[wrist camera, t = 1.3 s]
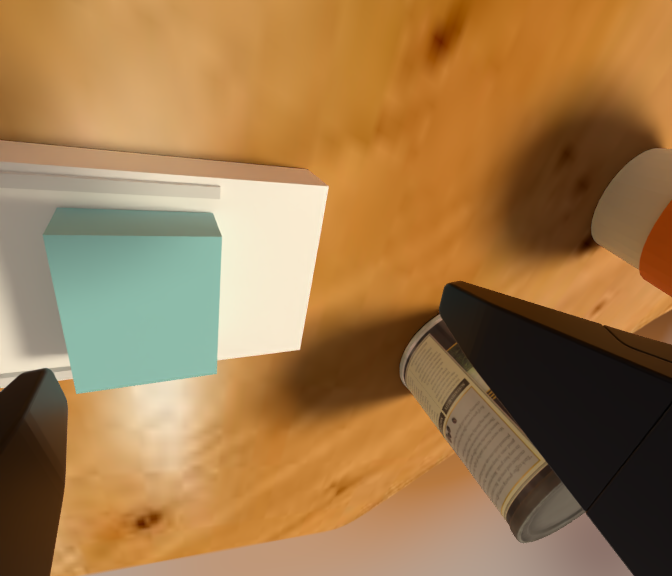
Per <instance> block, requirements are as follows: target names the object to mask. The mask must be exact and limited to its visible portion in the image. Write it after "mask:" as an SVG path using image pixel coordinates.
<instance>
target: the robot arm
mask: <svg viewBox="0 0 672 576" xmlns="http://www.w3.org/2000/svg"><path fill="white" fill-rule="evenodd" d="M439 313H440V316H441V318H442V320H443V321H444V323H445V324H446V326H447V328H448V329H449V331H450V332H451V334H452V336H453V337H454V339H455V340H456V342H457V344H458V345H459V347H460V348H461V350H462V352H463V353H464V355H465V356H466V358H467V359H468V361H469V362H470V363H471V365H472V366H473V367H474V369H475V370H476V371H477V373H478V374H479V375H480V377H481V378H482V379H483V380H484V382H485V383H486V384H487V386H488V387H489V388H490V390H491V391H492V392H493V393H494V395H495V396H496V397H497V399H498V400H499V401H500V402H501V404H502V405H503V406H504V408H505V409H506V410H507V412H508V413H509V414H510V415H511V417H512V418H513V419H514V421H515V422H516V423H517V425H518V426H519V427H520V428H521V430H522V431H523V432H524V434H525V435H526V436H527V437H528V439H529V440H530V441H531V443H532V444H533V445H534V447H535V448H536V449H537V450H538V452H539V453H540V454H541V456H542V457H543V458H544V460H545V461H546V462H547V463H548V465H549V466H550V467H551V469H552V470H553V471H554V472H555V474H556V475H557V476H558V478H559V479H560V480H561V482H562V483H563V484H564V485H565V487H566V488H567V489H568V491H569V492H570V493H571V495H572V496H573V497H574V498H575V500H576V501H577V502H578V504H579V505H580V506H581V507H582V509H583V510H584V511H586V514H587V516H588V517H589V518H590V519H591V521H592V522H593V524H594V525H595V526H596V527H597V528H598V530H599V531H600V532H601V534H602V535H603V536H604V538H605V539H606V540H607V542H608V543H609V544H610V546H611V547H612V548H613V549H614V551H615V552H616V553H617V554H618V556H619V557H620V558H621V560H622V561H623V562H624V564H625V565H626V566H627V568H628V569H629V570H630V571H631V573H632V574H633V575H634V576H672V345H671V344H667V343H664V342H660V341H656V340H653V339H649V338H645V337H642V336H639V335H635V334H632V333H629V332H625V331H622V330H619V329H615V328H612V327H609V326H606V325H604V326H602V325H601V324H599V323H596V322H592V321H589V320H586V319H583V318H580V317H576V316H573V315H570V314H567V313H563V312H560V311H557V310H554V309H550V308H547V307H544V306H541V305H537V304H534V303H531V302H528V301H524V300H521V299H518V298H515V297H511V296H508V295H505V294H502V293H498V292H495V291H492V290H489V289H485V288H482V287H479V286H476V285H472V284H469V283H466V282H463V281H456V282H451V283H448V284H446V286H445V287H444V290H443V294H442V298H441V302H440V306H439ZM67 420H68V405H67V400H66V397H65V395H64V393H63V391H62V389H61V387H60V385H59V383H58V381H57V379H56V377H55V375H54V373H53V372H52V371H51V370H50V369H48V368H42V369H37V370H32V371H27V372H24V373H21V374H20V375H18V376H17V377H16V378H15V379H14V380H13V381H12V382H11V383H10V384H8V385H7V386H6V387H5V388H4V389H3V390H2V391H1V392H0V576H50V572H51V566H52V561H53V555H54V549H55V543H56V537H57V531H58V525H59V519H60V513H61V508H62V502H63V495H64V488H65V475H66V449H67Z"/></svg>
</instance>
